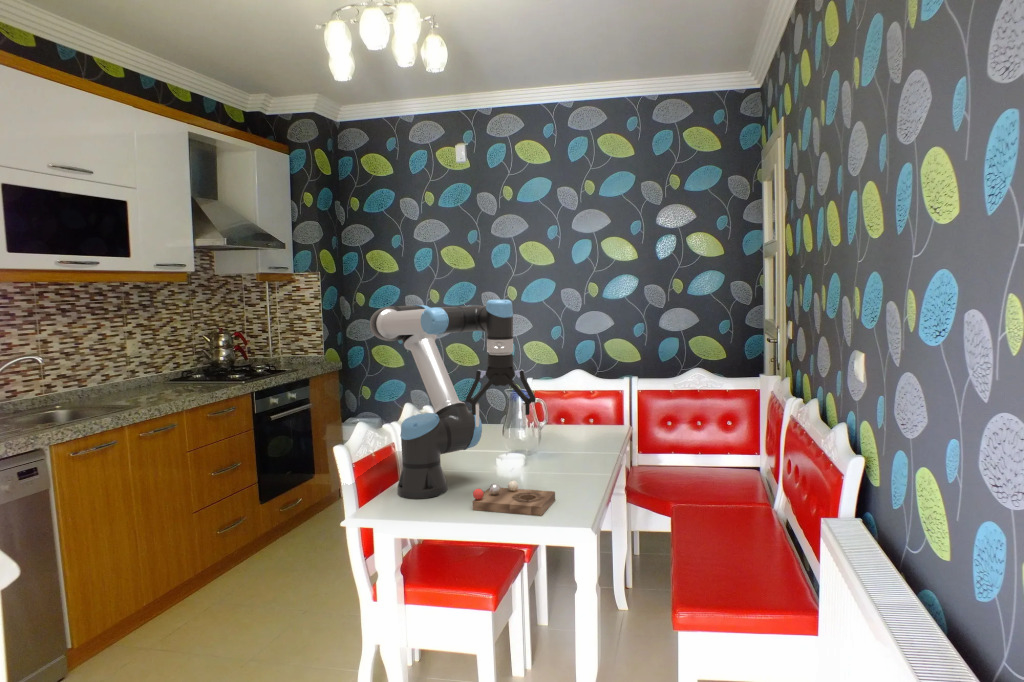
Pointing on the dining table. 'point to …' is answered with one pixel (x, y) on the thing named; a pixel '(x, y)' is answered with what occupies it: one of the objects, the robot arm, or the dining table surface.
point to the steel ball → (494, 489)
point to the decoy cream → (513, 485)
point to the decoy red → (478, 494)
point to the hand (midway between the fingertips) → (501, 426)
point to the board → (516, 501)
